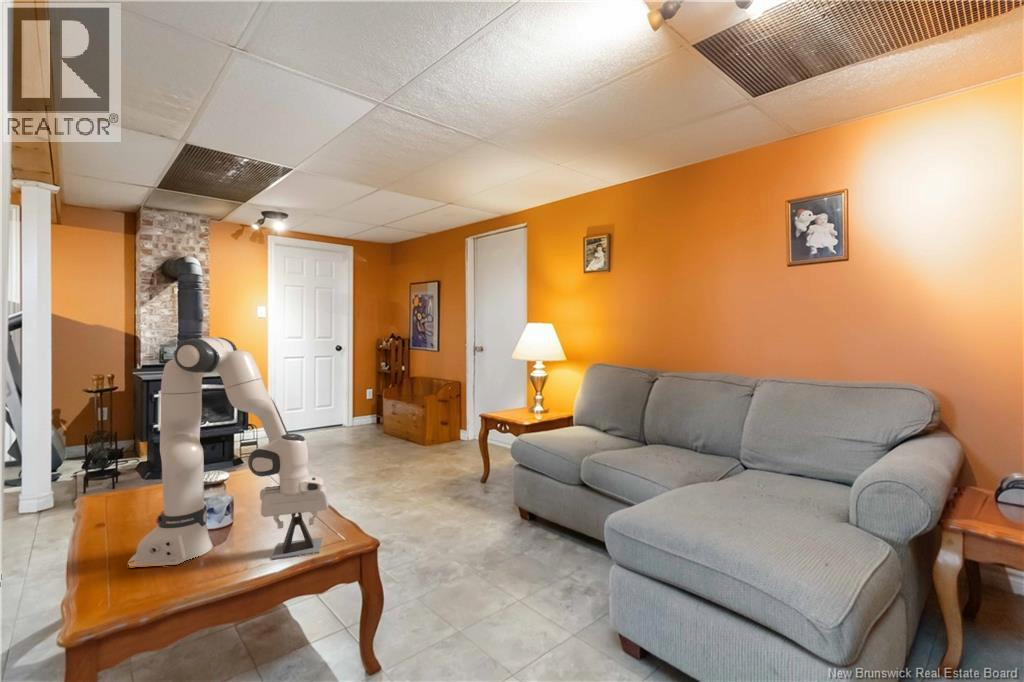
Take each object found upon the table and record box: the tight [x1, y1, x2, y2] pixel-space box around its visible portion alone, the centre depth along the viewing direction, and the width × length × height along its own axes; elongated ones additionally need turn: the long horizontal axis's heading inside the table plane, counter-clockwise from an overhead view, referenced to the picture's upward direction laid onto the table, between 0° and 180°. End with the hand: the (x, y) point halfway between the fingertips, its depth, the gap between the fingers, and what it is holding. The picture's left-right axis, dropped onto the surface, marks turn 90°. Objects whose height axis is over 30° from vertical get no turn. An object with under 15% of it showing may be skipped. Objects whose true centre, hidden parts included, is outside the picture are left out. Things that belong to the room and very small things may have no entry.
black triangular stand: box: [282, 513, 314, 554], centre depth 160 cm, size 9×6×12 cm, turn 116°
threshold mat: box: [270, 536, 323, 561], centre depth 161 cm, size 14×11×1 cm
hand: (296, 525), depth 160 cm, fingers open, 8 cm apart
